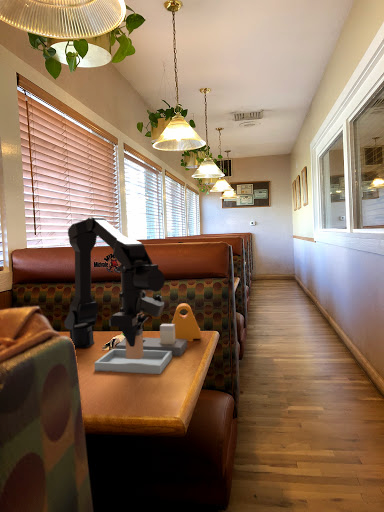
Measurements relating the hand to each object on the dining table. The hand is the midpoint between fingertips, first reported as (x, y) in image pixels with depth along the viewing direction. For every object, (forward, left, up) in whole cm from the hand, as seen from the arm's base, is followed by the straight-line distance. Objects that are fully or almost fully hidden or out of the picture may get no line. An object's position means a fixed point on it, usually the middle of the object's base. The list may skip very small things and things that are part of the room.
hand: (134, 344), depth 102 cm
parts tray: (0, 0, -6) cm, 6 cm away
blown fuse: (0, 0, -4) cm, 4 cm away
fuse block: (+1, +13, -6) cm, 14 cm away
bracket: (+8, +27, -6) cm, 29 cm away
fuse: (+6, +13, -6) cm, 15 cm away
